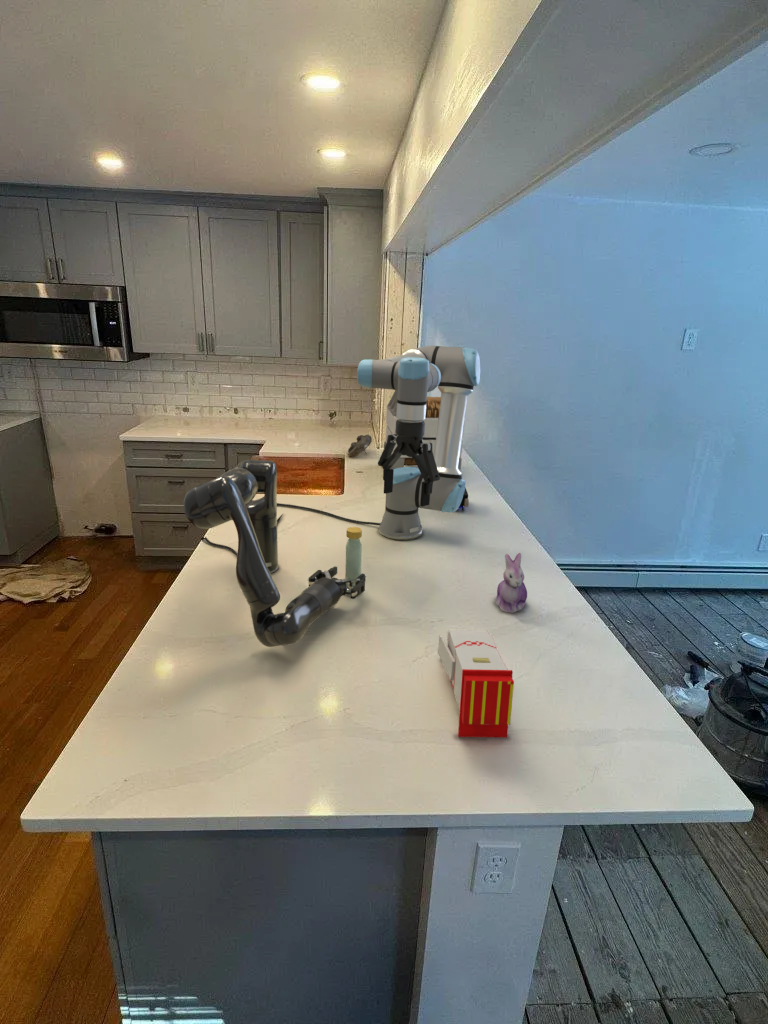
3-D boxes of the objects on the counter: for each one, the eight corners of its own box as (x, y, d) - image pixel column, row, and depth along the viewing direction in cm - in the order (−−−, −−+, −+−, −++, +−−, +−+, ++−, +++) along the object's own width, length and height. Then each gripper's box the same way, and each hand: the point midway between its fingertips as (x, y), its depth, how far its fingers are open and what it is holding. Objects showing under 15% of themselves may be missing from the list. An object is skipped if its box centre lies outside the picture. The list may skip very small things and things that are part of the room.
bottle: (349, 587, 160) (350, 527, 154) (362, 591, 159) (364, 530, 152) (342, 593, 157) (343, 532, 150) (355, 597, 155) (357, 535, 149)
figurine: (509, 617, 148) (516, 565, 143) (485, 599, 156) (491, 550, 151) (537, 610, 152) (544, 559, 147) (512, 593, 161) (519, 544, 156)
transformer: (382, 463, 289) (386, 382, 275) (445, 464, 293) (451, 384, 279) (390, 482, 257) (394, 392, 243) (460, 483, 261) (468, 394, 247)
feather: (290, 508, 223) (292, 504, 223) (272, 532, 197) (275, 527, 196) (286, 505, 223) (289, 501, 223) (268, 529, 197) (271, 525, 196)
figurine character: (468, 516, 224) (463, 500, 237) (471, 498, 221) (465, 483, 234) (452, 515, 224) (447, 499, 237) (453, 498, 220) (449, 482, 234)
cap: (350, 532, 154) (351, 525, 154) (364, 535, 153) (364, 528, 152) (343, 537, 151) (343, 530, 150) (357, 540, 149) (357, 533, 149)
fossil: (347, 440, 315) (369, 425, 310) (358, 454, 318) (379, 439, 313) (341, 454, 295) (364, 438, 290) (353, 468, 298) (375, 452, 293)
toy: (488, 613, 130) (523, 677, 101) (484, 667, 133) (517, 744, 104) (435, 612, 130) (455, 676, 101) (432, 666, 133) (451, 743, 103)
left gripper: (344, 591, 136) (373, 566, 150) (294, 578, 141) (327, 554, 155) (343, 619, 138) (372, 591, 152) (294, 604, 144) (327, 579, 158)
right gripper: (458, 426, 140) (450, 508, 147) (386, 411, 156) (383, 485, 163) (438, 430, 134) (431, 514, 142) (366, 414, 151) (364, 490, 158)
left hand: (349, 573), depth 154 cm, fingers open, 8 cm apart
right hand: (405, 498), depth 152 cm, fingers open, 13 cm apart
